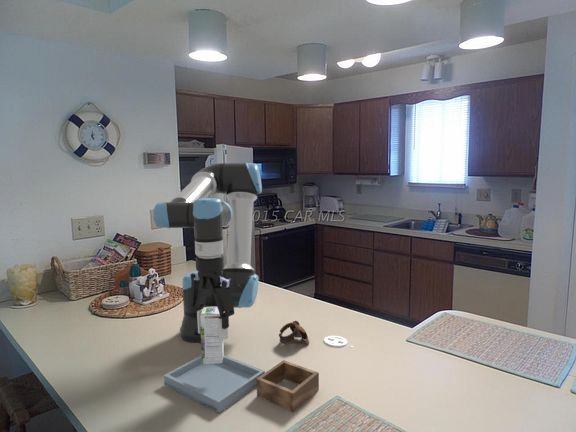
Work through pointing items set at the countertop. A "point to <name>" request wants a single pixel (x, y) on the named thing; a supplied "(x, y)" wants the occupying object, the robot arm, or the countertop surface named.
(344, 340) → the pendant
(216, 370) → the grey tray
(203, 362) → the syrup box
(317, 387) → the wooden cube shelf
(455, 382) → the countertop surface
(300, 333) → the brown curved piece
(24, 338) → the countertop surface
